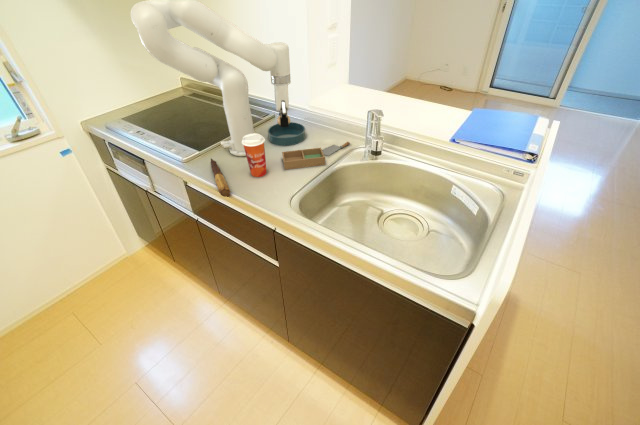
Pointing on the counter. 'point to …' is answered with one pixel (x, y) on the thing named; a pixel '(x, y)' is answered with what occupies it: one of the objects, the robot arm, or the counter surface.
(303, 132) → the bowl
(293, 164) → the divided brown tray
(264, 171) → the paper cup
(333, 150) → the cleaver
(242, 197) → the counter surface
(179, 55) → the robot arm
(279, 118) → the egg
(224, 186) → the hand tool
